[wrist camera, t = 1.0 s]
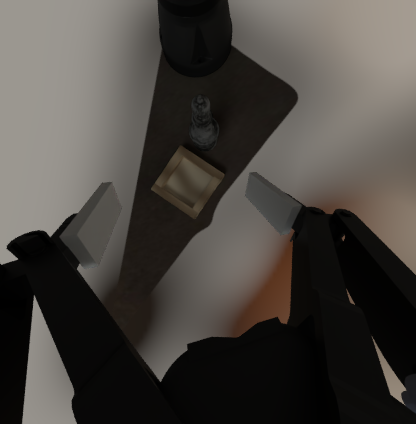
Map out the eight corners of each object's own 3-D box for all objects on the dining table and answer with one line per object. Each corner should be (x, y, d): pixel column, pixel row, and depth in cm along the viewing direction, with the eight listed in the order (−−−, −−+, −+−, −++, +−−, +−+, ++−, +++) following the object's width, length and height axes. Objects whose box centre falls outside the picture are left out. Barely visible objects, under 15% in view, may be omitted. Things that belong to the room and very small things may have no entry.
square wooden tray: (182, 149, 32) (180, 145, 31) (224, 176, 32) (224, 174, 30) (154, 190, 33) (150, 189, 31) (195, 218, 32) (194, 218, 30)
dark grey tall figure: (187, 147, 32) (171, 107, 20) (197, 122, 32) (187, 68, 20) (212, 156, 32) (211, 122, 20) (222, 131, 32) (227, 82, 20)
